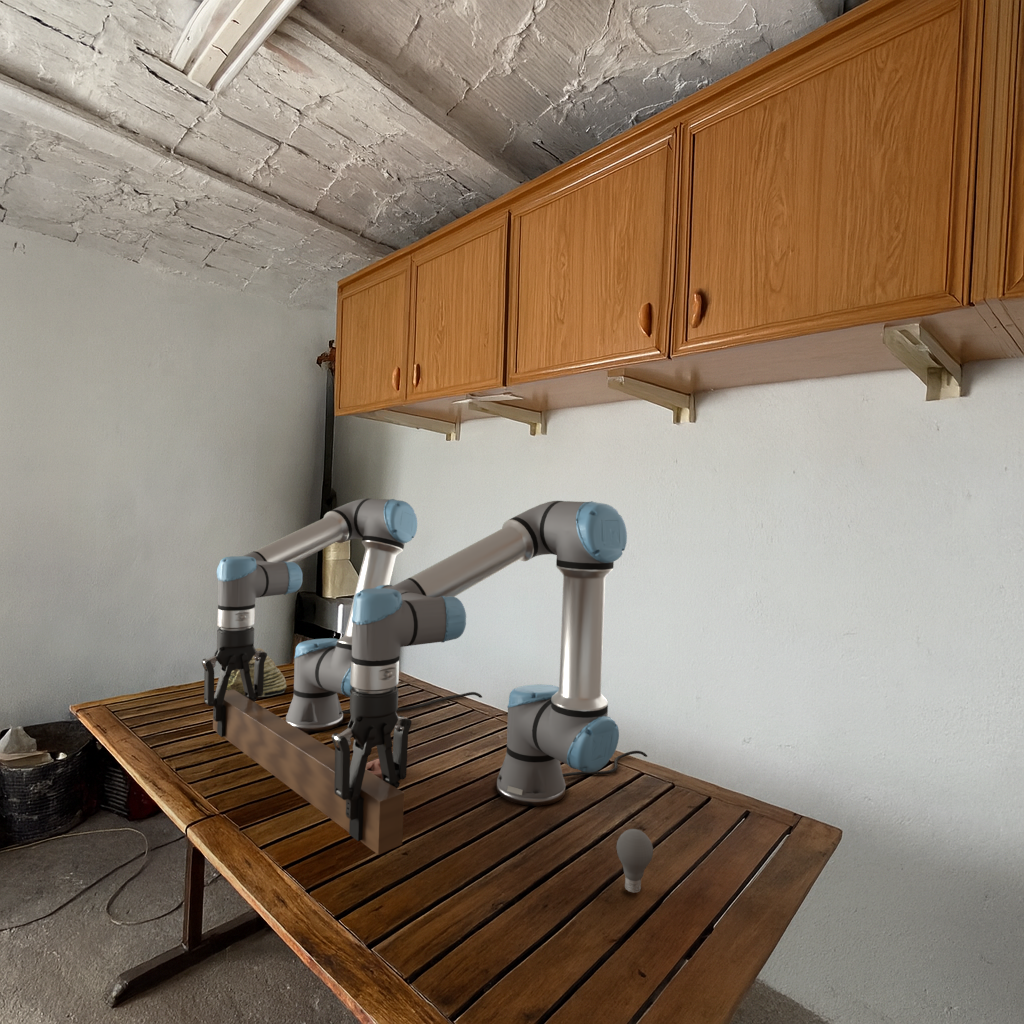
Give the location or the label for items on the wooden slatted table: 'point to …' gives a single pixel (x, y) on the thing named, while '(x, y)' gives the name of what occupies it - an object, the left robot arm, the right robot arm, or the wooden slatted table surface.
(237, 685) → the fossil
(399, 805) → the bar
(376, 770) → the anatomical model
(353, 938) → the wooden slatted table surface
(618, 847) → the light bulb
